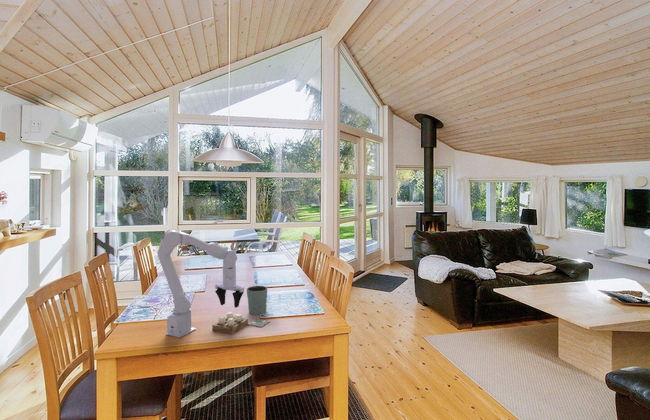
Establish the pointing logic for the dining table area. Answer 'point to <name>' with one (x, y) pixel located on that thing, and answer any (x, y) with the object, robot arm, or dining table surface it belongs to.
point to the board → (227, 329)
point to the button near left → (221, 320)
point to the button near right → (230, 322)
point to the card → (259, 323)
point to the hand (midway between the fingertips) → (229, 305)
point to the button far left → (229, 315)
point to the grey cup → (257, 299)
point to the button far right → (238, 318)
